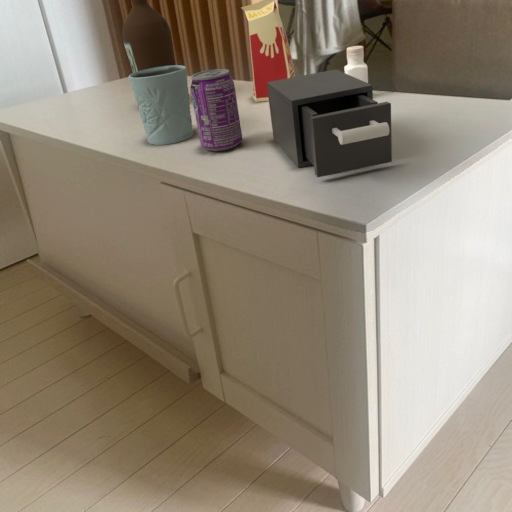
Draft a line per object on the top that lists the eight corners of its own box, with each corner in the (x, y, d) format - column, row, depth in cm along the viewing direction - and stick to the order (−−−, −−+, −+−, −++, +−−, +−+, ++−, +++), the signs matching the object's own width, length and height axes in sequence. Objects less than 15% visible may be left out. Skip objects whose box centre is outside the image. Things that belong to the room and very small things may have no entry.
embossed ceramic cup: (135, 147, 98) (118, 79, 92) (158, 130, 106) (143, 67, 100) (186, 144, 95) (172, 74, 89) (206, 127, 103) (194, 62, 97)
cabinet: (374, 152, 78) (372, 85, 74) (298, 168, 77) (291, 100, 72) (339, 127, 91) (336, 69, 87) (273, 141, 90) (266, 82, 85)
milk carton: (296, 88, 121) (287, -10, 111) (291, 99, 113) (281, -6, 104) (257, 92, 123) (244, -4, 113) (249, 103, 115) (235, 0, 106)
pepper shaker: (348, 101, 105) (345, 50, 101) (345, 96, 109) (342, 47, 104) (369, 98, 105) (367, 47, 100) (365, 94, 108) (363, 44, 104)
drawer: (406, 172, 68) (406, 110, 64) (328, 188, 67) (323, 127, 63) (354, 135, 83) (351, 84, 80) (290, 149, 82) (284, 97, 78)
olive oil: (182, 95, 131) (159, -19, 119) (186, 104, 122) (162, -18, 110) (139, 103, 130) (111, -11, 118) (139, 113, 121) (110, -10, 109)
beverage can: (214, 139, 95) (202, 69, 89) (250, 139, 92) (239, 67, 86) (193, 153, 90) (179, 79, 84) (230, 154, 87) (218, 77, 81)
